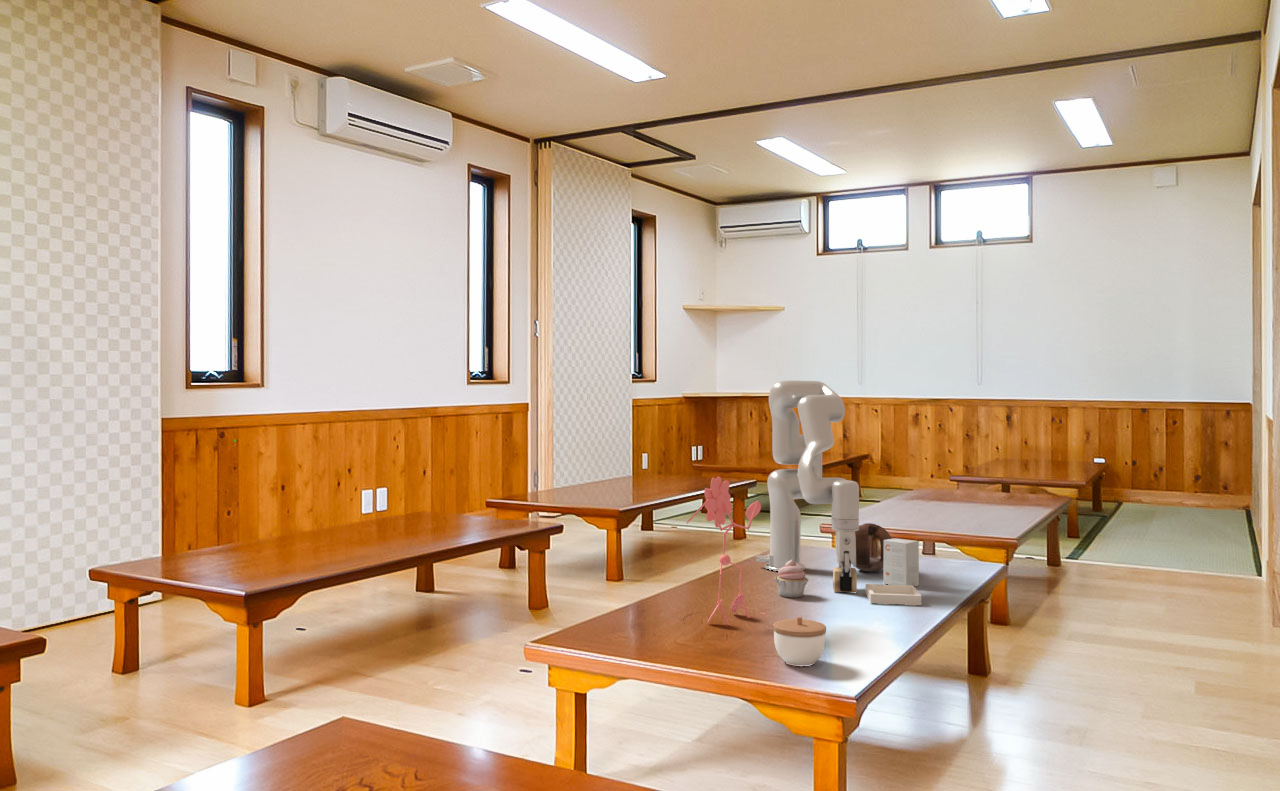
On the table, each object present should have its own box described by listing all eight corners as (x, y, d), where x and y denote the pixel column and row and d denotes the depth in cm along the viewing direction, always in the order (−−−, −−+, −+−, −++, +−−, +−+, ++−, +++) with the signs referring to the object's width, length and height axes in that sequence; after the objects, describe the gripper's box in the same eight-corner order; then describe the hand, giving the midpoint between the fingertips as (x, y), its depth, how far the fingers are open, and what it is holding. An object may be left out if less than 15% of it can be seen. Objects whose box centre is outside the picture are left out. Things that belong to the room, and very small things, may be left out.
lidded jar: (767, 667, 186) (768, 620, 186) (779, 653, 196) (779, 609, 196) (821, 673, 183) (821, 625, 183) (829, 658, 193) (830, 613, 193)
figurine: (770, 613, 232) (768, 474, 233) (712, 633, 212) (710, 481, 212) (719, 605, 242) (717, 472, 242) (659, 624, 222) (657, 479, 222)
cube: (834, 592, 257) (834, 571, 257) (833, 588, 263) (833, 567, 263) (856, 593, 256) (856, 571, 256) (854, 589, 262) (854, 567, 262)
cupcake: (793, 601, 246) (793, 563, 246) (767, 595, 254) (767, 558, 254) (815, 596, 252) (816, 560, 252) (789, 590, 260) (790, 555, 260)
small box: (919, 586, 267) (919, 541, 267) (906, 588, 263) (906, 543, 263) (895, 581, 274) (895, 537, 274) (882, 584, 270) (882, 539, 269)
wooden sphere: (847, 565, 299) (847, 519, 299) (895, 568, 294) (895, 521, 294) (841, 573, 285) (841, 525, 285) (891, 577, 280) (892, 528, 280)
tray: (870, 603, 244) (870, 593, 244) (865, 593, 257) (865, 584, 257) (921, 605, 242) (921, 595, 242) (913, 595, 255) (913, 585, 255)
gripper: (861, 529, 251) (861, 595, 251) (855, 520, 268) (855, 582, 268) (833, 528, 252) (833, 594, 252) (829, 520, 269) (829, 581, 269)
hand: (844, 587), depth 260 cm, fingers closed on cube, 6 cm apart
